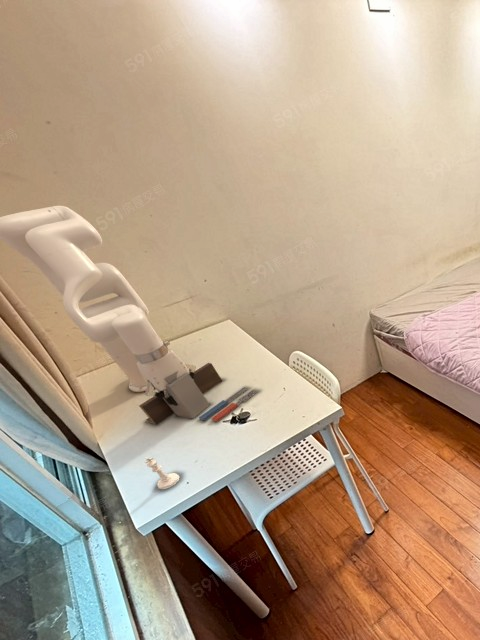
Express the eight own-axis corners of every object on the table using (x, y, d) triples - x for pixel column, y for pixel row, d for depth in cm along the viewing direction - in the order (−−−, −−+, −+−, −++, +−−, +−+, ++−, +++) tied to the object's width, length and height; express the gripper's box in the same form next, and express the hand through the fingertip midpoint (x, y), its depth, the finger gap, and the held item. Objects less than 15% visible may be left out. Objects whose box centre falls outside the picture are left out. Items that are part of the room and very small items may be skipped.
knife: (200, 419, 126) (198, 417, 125) (244, 388, 138) (242, 385, 137) (204, 421, 125) (203, 419, 124) (248, 389, 137) (247, 387, 137)
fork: (212, 420, 125) (210, 418, 124) (252, 390, 137) (251, 388, 136) (217, 422, 124) (216, 420, 124) (258, 392, 136) (257, 389, 135)
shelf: (147, 421, 126) (131, 403, 121) (213, 378, 143) (201, 360, 138) (156, 425, 124) (141, 406, 120) (222, 380, 142) (211, 363, 137)
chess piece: (154, 486, 105) (130, 462, 99) (171, 472, 109) (150, 448, 102) (166, 491, 103) (143, 467, 97) (183, 477, 107) (162, 453, 101)
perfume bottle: (193, 418, 126) (161, 375, 115) (176, 415, 127) (143, 372, 116) (209, 404, 131) (180, 362, 120) (193, 402, 133) (163, 360, 122)
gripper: (172, 336, 122) (201, 380, 133) (112, 366, 110) (150, 412, 121) (187, 340, 120) (216, 384, 131) (129, 372, 108) (165, 418, 119)
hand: (184, 397), depth 126 cm, fingers closed on perfume bottle, 6 cm apart
